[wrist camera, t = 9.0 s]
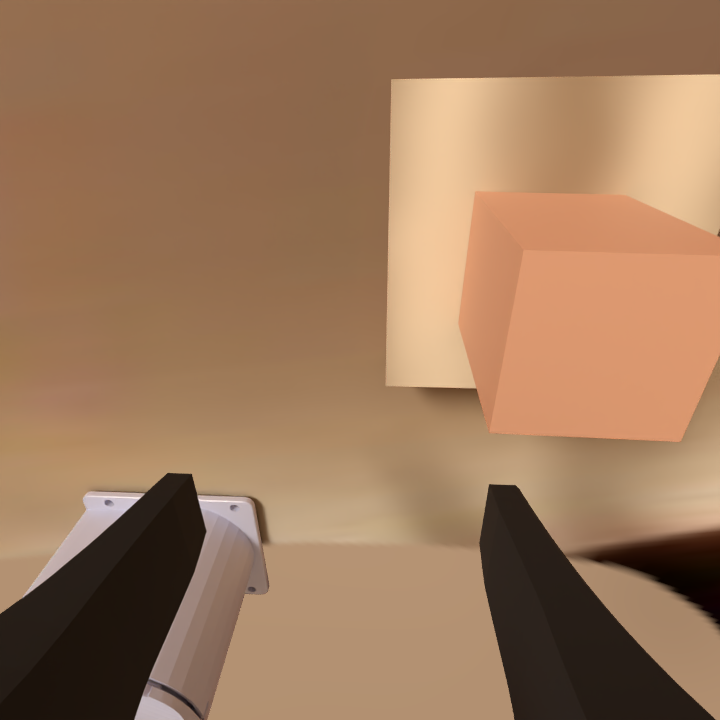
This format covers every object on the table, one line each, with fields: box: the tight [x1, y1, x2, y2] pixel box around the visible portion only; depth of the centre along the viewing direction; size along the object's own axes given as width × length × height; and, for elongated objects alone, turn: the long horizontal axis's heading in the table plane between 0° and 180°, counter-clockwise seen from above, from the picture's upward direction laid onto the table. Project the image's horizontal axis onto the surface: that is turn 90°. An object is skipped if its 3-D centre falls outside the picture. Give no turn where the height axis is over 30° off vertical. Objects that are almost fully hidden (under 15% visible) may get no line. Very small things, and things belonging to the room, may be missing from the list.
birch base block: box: [386, 75, 720, 388], centre depth 17 cm, size 10×10×4 cm
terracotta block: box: [458, 191, 720, 442], centre depth 13 cm, size 4×4×6 cm
